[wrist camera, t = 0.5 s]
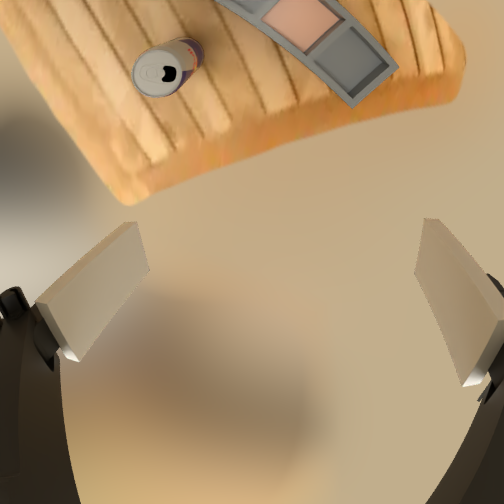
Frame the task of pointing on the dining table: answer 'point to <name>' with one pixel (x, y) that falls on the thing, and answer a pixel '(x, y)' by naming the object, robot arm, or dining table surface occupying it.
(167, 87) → the energy drink
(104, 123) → the dining table surface
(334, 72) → the compartment tray
